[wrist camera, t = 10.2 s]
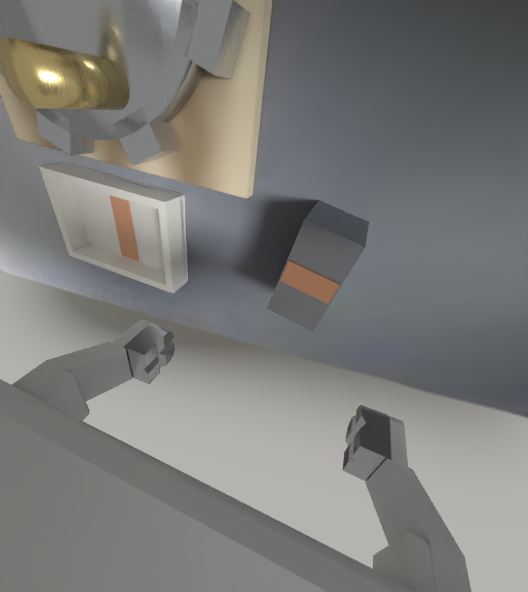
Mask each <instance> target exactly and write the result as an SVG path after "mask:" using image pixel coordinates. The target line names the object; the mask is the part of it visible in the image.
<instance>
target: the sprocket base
mask: <svg viewBox="0 0 528 592" xmlns="http://www.w3.org/2000/svg"><path fill="white" fill-rule="evenodd" d="M234 1H235V2H237V3H238V4H239V5H241V6H242V7H243V8H245V9H246V10H247V11H249V12H250V13H251V14H250V17H249V20H248V24H247V27H246V31H245V34H244V38H243V41H242V44H241V48H240V51H239V55H238V58H237V62H236V65H235V68H234V72H233V75H232V79H229V78H225V77H221V76H217V75H213V74H212V73H210V72H208V71H207V70H204V72H203V75H202V77H201V80H200V82H199V84H198V85H197V87H196V89H195V91H194V93H193V94H192V96H191V98H190V99H189V101H188V102H187V103H186V105H185V106H184V107H183V109H182V110H181V111H180V113H179V114H178V115H176V116H175V117H174V118H173V119H172V120H171V121H170V123H171V126H172V128H173V131H174V133H175V136H176V138H177V141H178V144H179V146H180V149H179V150H177V151H174V152H172V153H170V154H167V155H165V156H163V157H161V158H158V159H156V160H154V161H151V162H146V163H141V164H136V165H131V163H130V161H129V159H128V157H127V155H126V152H125V150H124V148H123V146H122V144H121V142H120V140H119V139H117V140H94V153H86V154H78V155H81V156H85V157H89V158H92V159H96V160H100V161H104V162H108V163H112V164H116V165H119V166H123V167H127V168H131V169H135V170H139V171H143V172H147V173H150V174H154V175H158V176H162V177H166V178H170V179H174V180H177V181H181V182H185V183H189V184H193V185H197V186H201V187H205V188H208V189H212V190H216V191H220V192H224V193H228V194H232V195H235V196H239V197H243V198H248V197H250V196H252V194H253V184H254V175H255V165H256V156H257V146H258V137H259V127H260V117H261V108H262V98H263V89H264V79H265V70H266V60H267V50H268V41H269V31H270V22H271V12H272V3H273V0H234ZM0 94H1V97H2V100H3V102H4V105H5V108H6V110H7V113H8V116H9V119H10V121H11V124H12V127H13V130H14V132H15V135H16V138H17V139H19V140H23V141H27V142H31V143H34V144H38V145H42V146H46V147H50V148H54V149H58V150H61V151H63V150H62V149H60V148H59V147H57V146H55V145H54V144H52V143H51V142H49V141H48V140H46V139H45V138H43V137H42V136H40V135H39V133H38V124H37V115H36V110H35V109H34V108H30V107H28V106H26V105H24V104H23V103H22V102H21V101H20V100H19V99H18V98H17V97H16V96H15V95H14V93H13V92H12V91H11V89H10V88H9V86H8V84H7V82H6V80H5V78H4V77H3V76H2V74H1V73H0Z"/></svg>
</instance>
